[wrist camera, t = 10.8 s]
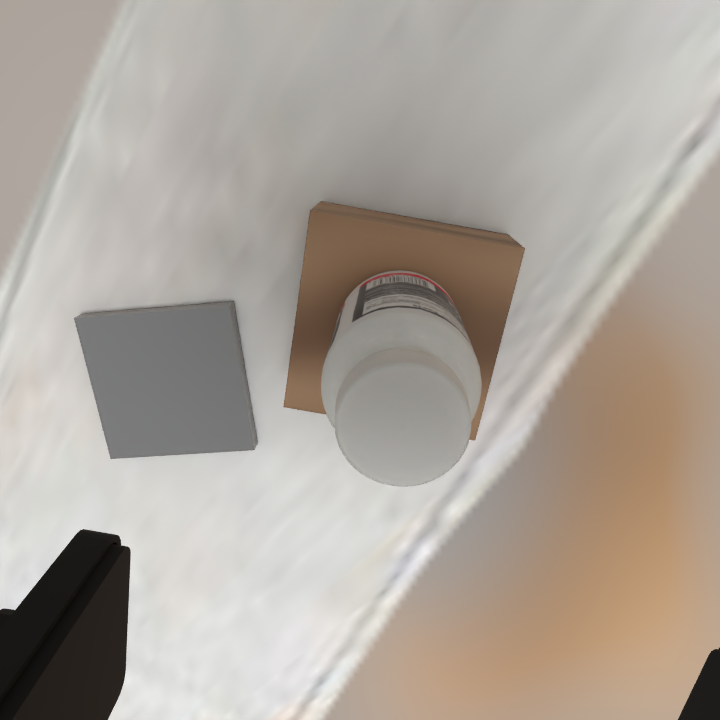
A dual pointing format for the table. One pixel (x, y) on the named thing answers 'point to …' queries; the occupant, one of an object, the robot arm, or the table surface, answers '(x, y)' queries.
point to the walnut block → (392, 253)
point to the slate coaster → (169, 380)
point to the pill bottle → (401, 380)
